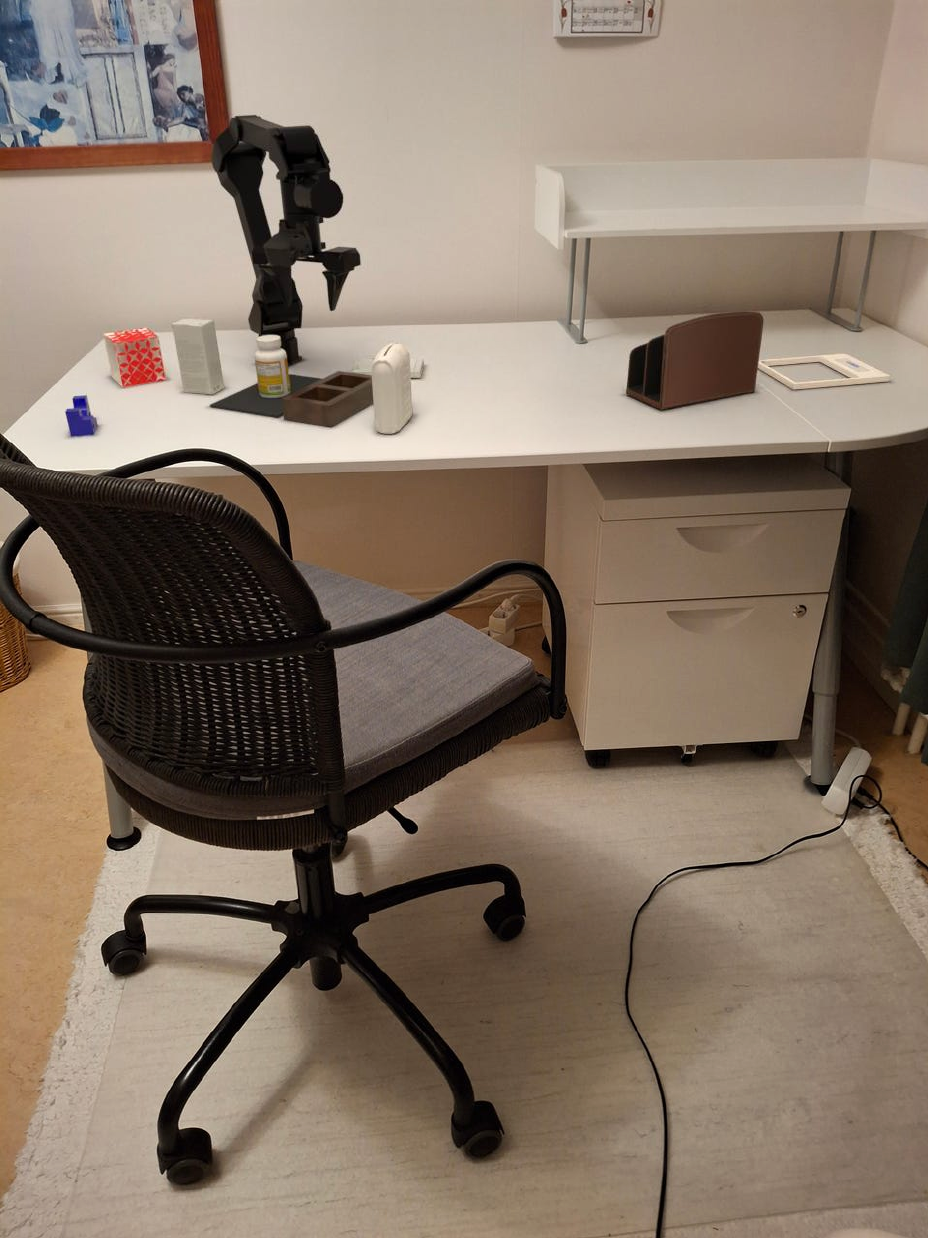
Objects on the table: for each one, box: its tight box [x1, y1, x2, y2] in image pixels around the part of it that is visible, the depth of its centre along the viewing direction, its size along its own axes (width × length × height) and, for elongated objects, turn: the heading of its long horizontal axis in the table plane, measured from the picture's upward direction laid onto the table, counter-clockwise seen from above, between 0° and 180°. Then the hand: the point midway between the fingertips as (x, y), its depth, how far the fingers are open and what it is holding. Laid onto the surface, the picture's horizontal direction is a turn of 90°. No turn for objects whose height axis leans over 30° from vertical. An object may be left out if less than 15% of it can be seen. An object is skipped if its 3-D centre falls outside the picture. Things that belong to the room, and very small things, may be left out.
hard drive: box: [351, 358, 425, 379], centre depth 177 cm, size 2×8×12 cm
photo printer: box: [372, 342, 413, 435], centre depth 150 cm, size 10×4×12 cm, turn 168°
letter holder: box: [625, 311, 765, 411], centre depth 160 cm, size 10×20×14 cm, turn 117°
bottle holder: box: [282, 370, 374, 428], centre depth 160 cm, size 9×17×4 cm, turn 154°
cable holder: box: [64, 394, 99, 437], centre depth 154 cm, size 8×4×4 cm, turn 10°
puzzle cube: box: [102, 327, 167, 388], centre depth 175 cm, size 8×8×8 cm
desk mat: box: [209, 373, 322, 419], centre depth 167 cm, size 14×20×1 cm
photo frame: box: [758, 353, 891, 390], centre depth 171 cm, size 15×1×18 cm
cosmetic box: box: [171, 317, 225, 395], centre depth 167 cm, size 6×4×12 cm
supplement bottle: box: [254, 335, 291, 399], centre depth 164 cm, size 5×5×10 cm
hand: (310, 308), depth 167 cm, fingers open, 9 cm apart
